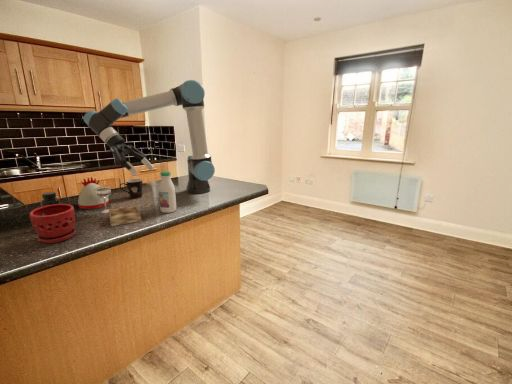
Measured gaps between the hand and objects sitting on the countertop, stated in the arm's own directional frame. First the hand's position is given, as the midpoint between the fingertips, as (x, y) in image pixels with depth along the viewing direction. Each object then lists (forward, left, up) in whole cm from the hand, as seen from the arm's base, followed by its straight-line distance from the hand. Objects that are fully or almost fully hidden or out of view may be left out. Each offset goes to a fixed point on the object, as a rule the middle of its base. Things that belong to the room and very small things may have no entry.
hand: (144, 171), depth 125 cm
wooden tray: (+12, +9, -20) cm, 25 cm away
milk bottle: (-8, +7, -20) cm, 23 cm away
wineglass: (+19, -7, -20) cm, 28 cm away
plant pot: (+36, +18, -20) cm, 45 cm away
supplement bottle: (+40, -8, -20) cm, 45 cm away
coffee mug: (+4, -27, -20) cm, 34 cm away
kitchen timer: (+24, -22, -20) cm, 38 cm away
